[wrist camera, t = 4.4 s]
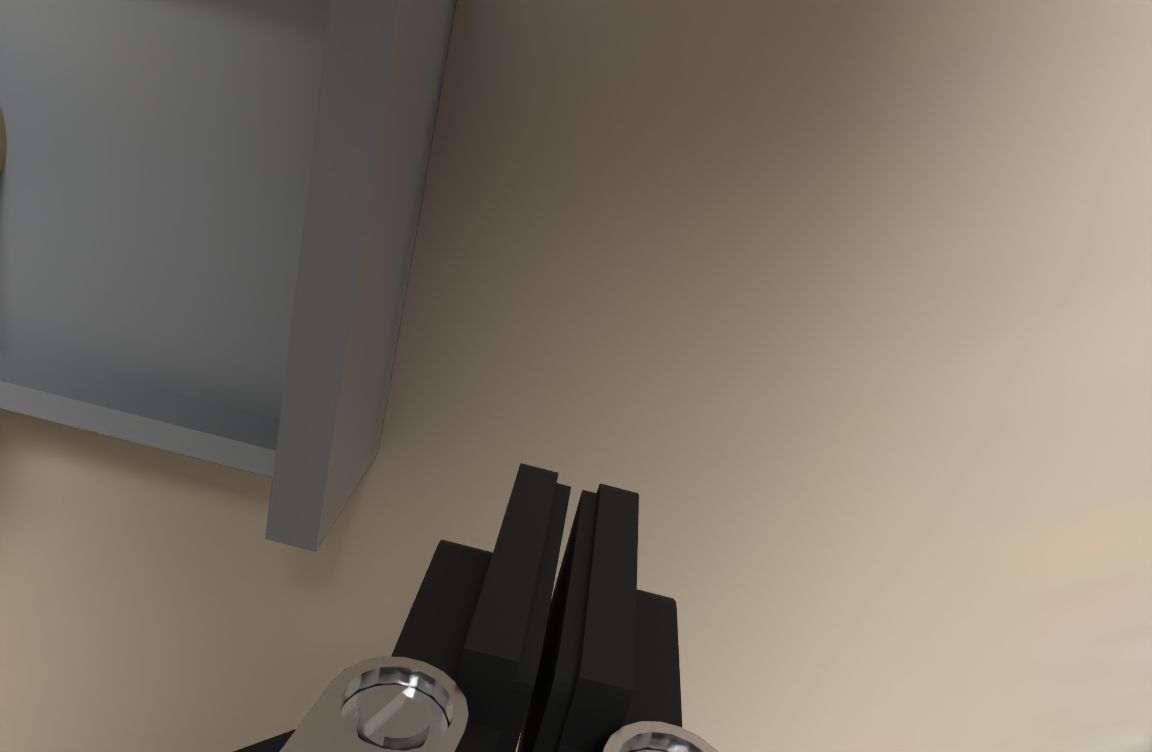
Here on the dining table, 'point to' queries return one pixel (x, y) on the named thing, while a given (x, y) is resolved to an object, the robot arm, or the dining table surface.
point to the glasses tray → (216, 226)
